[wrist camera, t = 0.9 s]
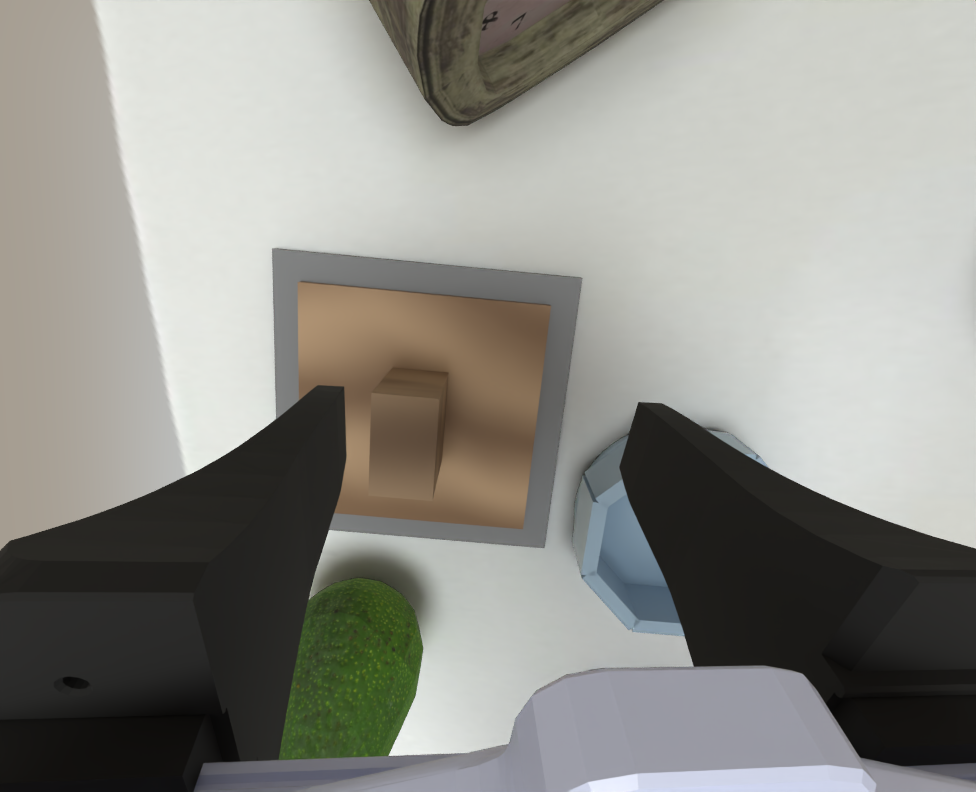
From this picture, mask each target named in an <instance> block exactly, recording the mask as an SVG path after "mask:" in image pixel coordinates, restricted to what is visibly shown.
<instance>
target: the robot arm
mask: <svg viewBox="0 0 976 792" xmlns="http://www.w3.org/2000/svg"><path fill="white" fill-rule="evenodd" d="M346 458H347V453H346V422H345V392H344V386H326V385H317V386H316V387H314V388H313V389H312V390H311V391H310V392H308V393H307V394H306V395H305V396H303V397H302V398H301V399H300V400H299V401H298V402H296V403H295V404H294V405H293V406H292V407H290V408H289V409H288V410H287V411H286V412H284V413H283V414H282V415H281V416H279V417H278V418H277V419H276V420H274V421H273V422H272V423H271V424H269V425H268V426H267V427H265V428H264V429H263V430H261V431H260V432H258V433H257V434H256V435H254V436H253V437H251V438H250V439H249V440H247V441H246V442H244V443H243V444H241V445H240V446H239V447H237V448H235V449H234V450H232V451H231V452H229V453H227V454H226V455H224V456H223V457H221V458H219V459H217V460H216V461H214V462H212V463H210V464H209V465H207V466H205V467H203V468H202V469H200V470H198V471H196V472H194V473H192V474H190V475H188V476H186V477H184V478H181V479H179V480H177V481H175V482H173V483H171V484H169V485H167V486H165V487H162V488H160V489H158V490H156V491H154V492H152V493H149V494H147V495H145V496H142V497H140V498H138V499H135V500H132V501H130V502H127V503H125V504H123V505H120V506H117V507H115V508H112V509H109V510H106V511H104V512H101V513H98V514H95V515H93V516H90V517H87V518H84V519H81V520H78V521H75V522H71V523H68V524H65V525H61V526H58V527H55V528H52V529H48V530H45V531H42V532H39V533H35V534H32V535H29V536H26V537H22V538H18V539H15V540H11V541H9V542H8V543H7V544H6V545H5V546H4V548H2V549H1V551H0V792H976V549H975V548H971V547H968V546H964V545H961V544H957V543H954V542H950V541H947V540H943V539H940V538H936V537H933V536H930V535H927V534H923V533H920V532H917V531H915V530H912V529H909V528H906V527H903V526H900V525H897V524H894V523H891V522H888V521H885V520H883V519H880V518H877V517H875V516H872V515H869V514H867V513H864V512H862V511H859V510H857V509H854V508H852V507H849V506H847V505H845V504H842V503H840V502H837V501H835V500H832V499H830V498H828V497H826V496H823V495H821V494H819V493H817V492H815V491H812V490H810V489H808V488H806V487H804V486H802V485H800V484H798V483H796V482H794V481H792V480H790V479H788V478H786V477H784V476H782V475H780V474H778V473H777V472H775V471H773V470H771V469H769V468H768V467H766V466H764V465H762V464H761V463H759V462H757V461H755V460H754V459H752V458H750V457H748V456H747V455H745V454H743V453H742V452H740V451H739V450H737V449H735V448H734V447H732V446H730V445H729V444H727V443H726V442H724V441H722V440H721V439H719V438H718V437H716V436H715V435H713V434H712V433H710V432H708V431H707V430H705V429H704V428H702V427H701V426H699V425H698V424H696V423H695V422H693V421H691V420H690V419H688V418H687V417H685V416H683V415H682V414H680V413H679V412H677V411H675V410H673V409H672V408H670V407H668V406H666V405H664V404H662V403H643V402H638V406H637V409H636V412H635V416H634V419H633V422H632V426H631V429H630V433H629V436H628V439H627V443H626V446H625V449H624V453H623V456H622V459H621V463H620V466H619V468H620V472H621V476H622V480H623V483H624V487H625V490H626V493H627V497H628V500H629V502H630V505H631V507H632V509H633V512H634V514H635V516H636V518H637V520H638V523H639V525H640V527H641V529H642V531H643V533H644V535H645V538H646V540H647V542H648V544H649V546H650V548H651V550H652V553H653V555H654V557H655V559H656V561H657V563H658V565H659V568H660V570H661V572H662V574H663V576H664V579H665V581H666V584H667V586H668V588H669V591H670V593H671V596H672V599H673V602H674V605H675V608H676V611H677V614H678V617H679V620H680V623H681V626H682V629H683V632H684V635H685V639H686V642H687V645H688V649H689V652H690V655H691V658H692V662H693V665H694V667H649V668H602V669H596V670H590V671H584V672H579V673H573V674H567V675H565V676H563V677H561V678H559V679H557V680H555V681H553V682H551V683H550V684H548V685H546V686H544V687H542V688H540V689H538V690H536V692H535V693H534V694H533V695H532V696H531V698H530V699H529V701H528V702H527V703H526V705H525V706H524V708H523V709H522V710H521V712H520V713H519V714H518V716H517V717H516V719H515V723H514V727H513V731H512V735H511V739H510V742H509V744H507V745H502V746H497V747H492V748H488V749H483V750H479V751H474V752H470V753H458V754H432V755H405V756H378V757H351V758H325V759H298V760H279V754H280V748H281V742H282V736H283V730H284V725H285V719H286V713H287V708H288V702H289V697H290V691H291V685H292V680H293V674H294V669H295V664H296V659H297V654H298V648H299V643H300V638H301V633H302V628H303V623H304V618H305V613H306V608H307V604H308V599H309V594H310V590H311V586H312V582H313V578H314V575H315V571H316V568H317V565H318V562H319V559H320V556H321V553H322V549H323V546H324V543H325V540H326V537H327V534H328V531H329V528H330V525H331V521H332V518H333V515H334V512H335V509H336V506H337V502H338V499H339V496H340V492H341V487H342V482H343V476H344V470H345V464H346Z"/></svg>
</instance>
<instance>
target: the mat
mask: <svg viewBox="0 0 976 792" xmlns="http://www.w3.org/2000/svg"><path fill="white" fill-rule="evenodd" d="M272 264H273V306H274V348H275V390H276V419H277V418H278V417H279V416H281V415H282V414H283V413H284V412H286V411H287V410H288V409H289V408H290V407H292V406H293V405H294V404H295V403H296V402H298V401H299V367H298V282H301V281H304V282H315V283H325V284H336V285H346V286H357V287H368V288H378V289H389V290H399V291H410V292H420V293H431V294H442V295H452V296H463V297H473V298H484V299H495V300H505V301H516V302H526V303H537V304H547V305H551V311H550V319H549V327H548V335H547V343H546V350H545V358H544V366H543V374H542V382H541V390H540V398H539V406H538V414H537V422H536V430H535V438H534V446H533V454H532V462H531V470H530V478H529V486H528V494H527V502H526V509H525V517H524V525H523V529H513V528H501V527H489V526H478V525H466V524H454V523H443V522H431V521H419V520H408V519H396V518H384V517H373V516H361V515H349V514H338V513H334V515H333V518H332V521H331V525H330V528H329V530H336V531H348V532H360V533H372V534H383V535H395V536H407V537H419V538H430V539H442V540H454V541H466V542H477V543H489V544H501V545H513V546H524V547H536V548H544V547H545V540H546V533H547V526H548V518H549V511H550V504H551V497H552V490H553V483H554V476H555V469H556V461H557V454H558V447H559V440H560V433H561V426H562V419H563V412H564V404H565V397H566V390H567V383H568V376H569V369H570V362H571V355H572V348H573V340H574V333H575V326H576V319H577V312H578V305H579V298H580V291H581V283H582V278H577V277H567V276H556V275H546V274H535V273H525V272H514V271H504V270H493V269H483V268H472V267H462V266H451V265H441V264H431V263H420V262H410V261H399V260H389V259H378V258H368V257H357V256H347V255H336V254H326V253H316V252H305V251H295V250H284V249H272Z"/></svg>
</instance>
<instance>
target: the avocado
mask: <svg viewBox="0 0 976 792" xmlns="http://www.w3.org/2000/svg"><path fill="white" fill-rule="evenodd" d="M422 653H423V645H422V640H421V635H420V630H419V626H418V622H417V619H416V615H415V612H414V609H413V608H412V607H411V605H410V604H409V602H408V601H407V600H406V599H405V597H404V596H403V595H402V594H401V593H399V592H398V591H396V590H395V589H393V588H392V587H390V586H388V585H386V584H385V583H383V582H381V581H376V580H371V579H365V578H354V579H350V580H345V581H341V582H336V583H333V584H332V585H330V586H328V587H327V588H325V589H323V590H322V591H320V592H318V593H317V594H316V595H314V596H313V597H312V598H311V599H310V600H308V604H307V608H306V613H305V618H304V623H303V628H302V633H301V638H300V643H299V648H298V654H297V659H296V664H295V669H294V674H293V680H292V685H291V691H290V697H289V702H288V708H287V713H286V719H285V725H284V730H283V736H282V742H281V748H280V754H279V760H298V759H325V758H351V757H378V756H388V755H389V753H390V751H391V749H392V747H393V744H394V742H395V740H396V738H397V736H398V734H399V732H400V730H401V727H402V725H403V723H404V721H405V718H406V716H407V714H408V712H409V709H410V707H411V705H412V703H413V700H414V698H415V696H416V690H417V684H418V678H419V673H420V667H421V660H422Z"/></svg>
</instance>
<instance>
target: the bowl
mask: <svg viewBox="0 0 976 792" xmlns="http://www.w3.org/2000/svg"><path fill="white" fill-rule="evenodd" d="M704 429H705V428H704ZM705 430H707V431H708V432H710V433H712V434H713V435H715V436H716V437H718V438H719V439H721V440H722V441H724V442H726V443H727V444H729V445H730V446H732V447H734V448H735V449H737V450H739V451H740V452H742V453H743V454H745V455H747V456H748V457H750V458H752V459H754V460H755V461H757V462H759V463H761V464H762V465H764V466H766V467H767V465H766V464H765V462H764V461H763V460H762V458H761V457H760V456H759V455H757V454H756V453H755V452H754V451H752V450H751V449H750V448H748V447H747V446H746V445H745V444H743V443H742V442H741V441H739V440H738V439H737V438H736V437H734V436H733V435H732V434H729V433H728V432H719V431H711V430H708V429H705ZM628 436H629V435H627V436H625V437H623V438H621V439H620V440H618V441H616V442H615V443H613V444H612V445H611V446H609V447H608V448H607V449H606V450H605V451H603V452H602V453H601V454H600V455H599V456H598V457H597V459H596V460H595V461H594V462H593V463H592V465H591V466H590V467H589V469H588V470H587V471H585V475H584V476H583V475H582V480H581V483H580V486H579V489H578V491H577V495H576V500H575V506H574V522H575V525H574V531H573V538H572V544H573V548H574V551H575V555H576V559H577V562H578V566H579V570H580V573H581V576H582V579H583V580H584V581H585V582H586V583H587V584H588V586H589V587H590V588H591V589H592V590H593V591H594V592H595V593H596V594H597V596H598V597H599V598H600V599H601V600H602V601H603V602H604V603H605V604H606V605H607V607H608V608H609V609H610V610H611V611H612V612H613V613H614V614H615V615H616V617H617V618H618V619H619V620H620V621H621V622H622V623H623V624H624V625H625V627H626V628H627V629H628V630H630V629H632V632H640V633H652V634H664V635H677V636H685V635H684V632H683V629H682V626H681V623H680V620H679V617H678V614H677V611H676V608H675V605H674V602H673V599H672V596H671V593H670V591H669V588H668V586H667V584H666V581H665V579H664V576H663V574H662V572H661V570H660V568H659V565H658V563H657V561H656V559H655V557H654V555H653V553H652V550H651V548H650V546H649V544H648V542H647V540H646V538H645V535H644V533H643V531H642V529H641V527H640V525H639V523H638V520H637V518H636V516H635V514H634V512H633V509H632V507H631V505H630V502H629V500H628V497H627V493H626V490H625V487H624V483H623V480H622V476H621V472H620V468H619V466H620V463H621V459H622V456H623V453H624V449H625V446H626V443H627V439H628Z"/></svg>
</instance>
